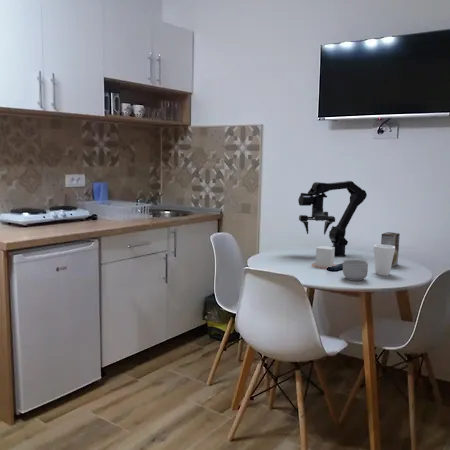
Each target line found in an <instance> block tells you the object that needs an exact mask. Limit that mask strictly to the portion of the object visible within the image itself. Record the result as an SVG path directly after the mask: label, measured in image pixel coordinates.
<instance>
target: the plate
mask: <svg viewBox="0 0 450 450" xmlns="http://www.w3.org/2000/svg"><path fill="white" fill-rule="evenodd" d="M315 263H316V262H314V263H311V264H310V265H311V266H312V267H314V268H318V269H323V270H325V269H327V268H326V267H318V266H315ZM336 265H337V264H335V263H334V265H333V266H336ZM327 270H328V269H327Z"/></svg>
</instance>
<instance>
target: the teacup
mask: <svg viewBox="0 0 450 450" xmlns="http://www.w3.org/2000/svg"><path fill="white" fill-rule="evenodd" d="M368 265H369V262H368V261H367V260H364V259H355V258H352V259H346V260H343V261H342V273H343V277H345V278H346V279H347V280H349V281H355V282H357V281H363V280H364V279H366V277H367V276H368V270H369V266H368Z"/></svg>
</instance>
